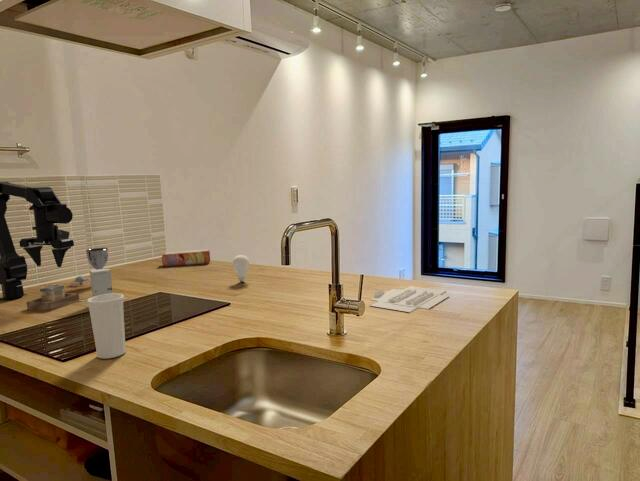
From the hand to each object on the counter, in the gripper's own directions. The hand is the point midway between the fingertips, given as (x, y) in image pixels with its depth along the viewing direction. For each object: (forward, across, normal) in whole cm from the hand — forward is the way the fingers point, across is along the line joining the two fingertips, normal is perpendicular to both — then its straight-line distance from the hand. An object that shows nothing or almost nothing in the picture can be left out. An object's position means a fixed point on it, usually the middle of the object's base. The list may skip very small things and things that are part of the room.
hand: (49, 266), depth 160 cm
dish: (+13, +8, -21) cm, 26 cm away
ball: (+12, +8, -21) cm, 26 cm away
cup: (+11, -59, +38) cm, 71 cm away
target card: (+12, -9, -6) cm, 16 cm away
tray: (+11, -124, -22) cm, 127 cm away
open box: (+12, -5, +4) cm, 14 cm away
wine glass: (+13, -1, -22) cm, 26 cm away
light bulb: (+11, -57, -36) cm, 69 cm away
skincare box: (+12, -23, +1) cm, 26 cm away
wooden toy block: (+12, -5, +4) cm, 14 cm away
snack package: (+13, -12, -67) cm, 69 cm away
